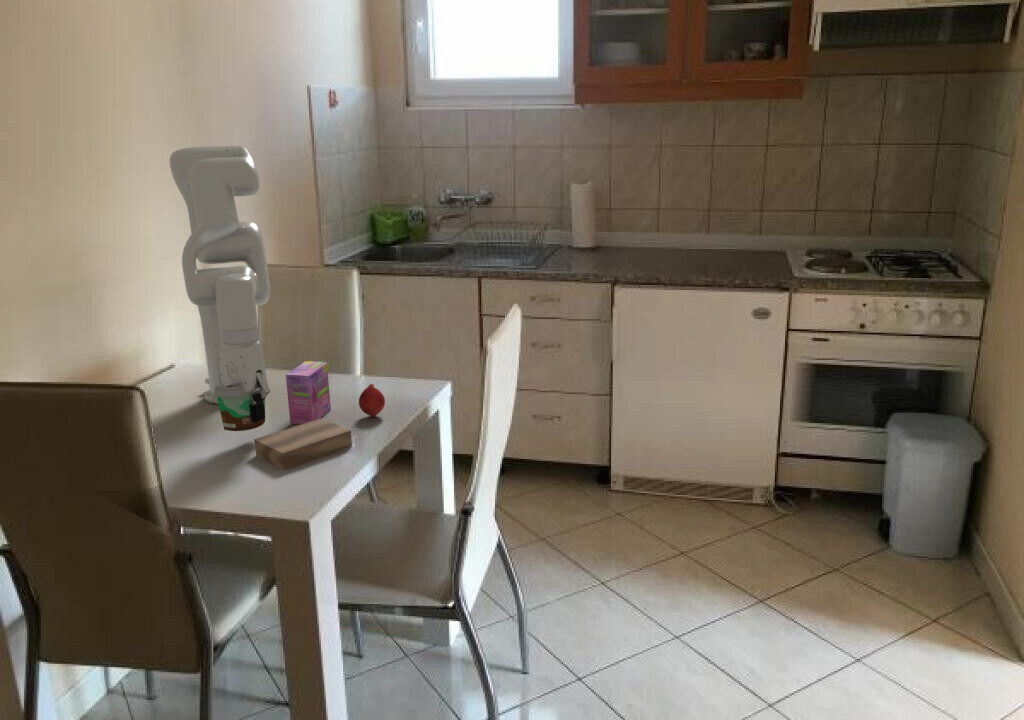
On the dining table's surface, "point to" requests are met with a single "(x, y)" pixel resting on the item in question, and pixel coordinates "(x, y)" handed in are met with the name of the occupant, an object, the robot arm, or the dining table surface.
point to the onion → (371, 401)
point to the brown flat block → (302, 443)
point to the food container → (236, 408)
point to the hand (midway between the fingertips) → (249, 416)
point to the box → (308, 392)
